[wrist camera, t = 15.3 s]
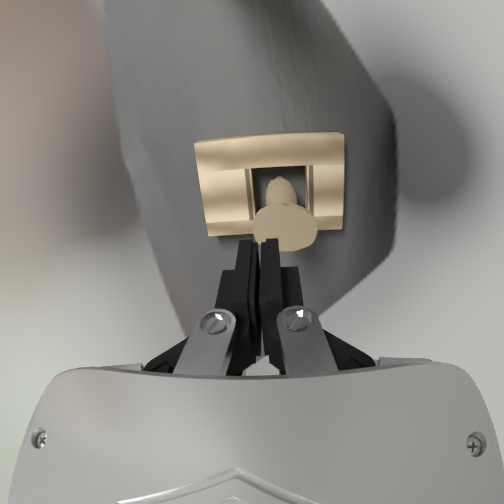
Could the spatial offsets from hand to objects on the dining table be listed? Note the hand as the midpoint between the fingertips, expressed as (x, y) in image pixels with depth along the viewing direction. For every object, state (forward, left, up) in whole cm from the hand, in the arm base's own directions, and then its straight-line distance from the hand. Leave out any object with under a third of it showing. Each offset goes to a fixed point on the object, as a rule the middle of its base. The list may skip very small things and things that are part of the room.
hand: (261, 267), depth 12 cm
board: (+5, +1, -30) cm, 30 cm away
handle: (+5, +2, -30) cm, 30 cm away
